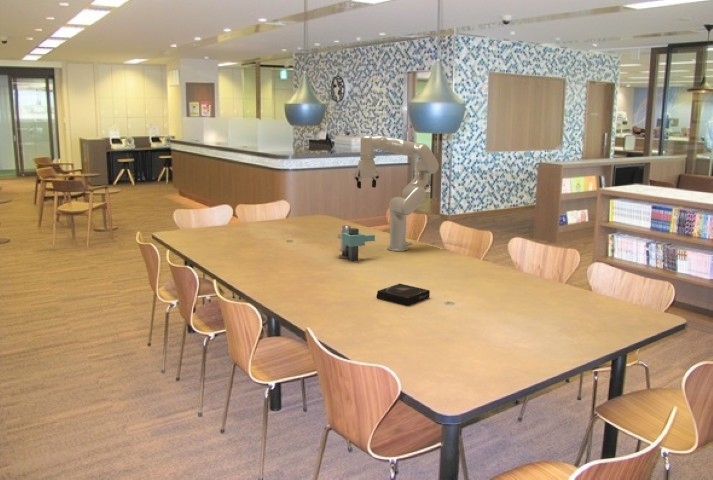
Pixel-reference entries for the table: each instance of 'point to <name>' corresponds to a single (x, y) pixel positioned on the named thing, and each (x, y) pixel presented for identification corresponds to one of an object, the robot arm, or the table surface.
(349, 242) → the teal square frame handle
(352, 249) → the steel wedge pin
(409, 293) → the portable cd player
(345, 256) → the grey tall round-topped piece
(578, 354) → the table surface
